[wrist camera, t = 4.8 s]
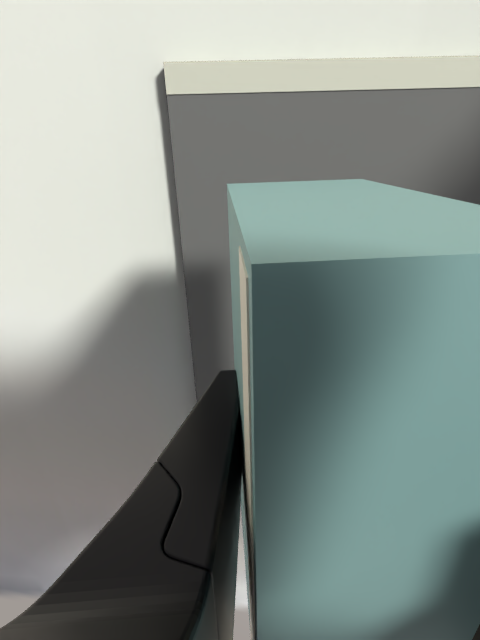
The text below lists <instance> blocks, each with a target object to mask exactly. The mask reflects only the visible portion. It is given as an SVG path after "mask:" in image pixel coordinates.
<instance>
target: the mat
mask: <svg viewBox="0 0 480 640" xmlns="http://www.w3.org/2000/svg"><path fill="white" fill-rule="evenodd" d="M163 64H164V74H165V84H166V94H167V103H168V113H169V123H170V134H171V144H172V154H173V164H174V174H175V184H176V194H177V204H178V215H179V225H180V235H181V245H182V255H183V265H184V275H185V285H186V296H187V306H188V316H189V326H190V336H191V346H192V356H193V366H194V377H195V387H196V397H197V402H198V401H199V400H200V398H201V397H202V395H203V394H204V393H205V391H206V390H207V388H208V387H209V385H210V384H211V383H212V381H213V380H214V378H215V377H216V375H217V374H218V373H219V371H221V370H235V367H234V343H233V319H232V295H231V271H230V247H229V223H228V199H227V184H235V183H263V182H290V181H318V180H346V179H365V180H369V181H374V182H378V183H383V184H387V185H392V186H396V187H401V188H405V189H410V190H414V191H419V192H423V193H428V194H433V195H437V196H442V197H446V198H451V199H455V200H460V201H464V202H469V203H473V204H478V205H480V56H435V57H386V58H337V59H288V60H239V61H190V62H163Z"/></svg>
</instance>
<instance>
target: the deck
mask: <svg viewBox="0 0 480 640" xmlns="http://www.w3.org/2000/svg"><path fill="white" fill-rule="evenodd" d="M227 199H228V223H229V247H230V271H231V295H232V319H233V343H234V367H235V370H236V373H237V382H238V391H239V401H240V425H241V452H242V485H241V511H242V525H243V539H244V553H245V567H246V581H247V595H248V609H249V622H250V637H251V640H472V639H473V637H474V635H475V633H476V630H477V628H478V626H479V624H480V205H478V204H473V203H469V202H464V201H460V200H455V199H451V198H446V197H442V196H437V195H433V194H428V193H423V192H419V191H414V190H410V189H405V188H401V187H396V186H392V185H387V184H383V183H378V182H374V181H369V180H365V179H346V180H318V181H290V182H263V183H235V184H227Z"/></svg>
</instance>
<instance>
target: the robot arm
mask: <svg viewBox="0 0 480 640" xmlns="http://www.w3.org/2000/svg"><path fill="white" fill-rule="evenodd" d="M241 485H242V452H241V425H240V401H239V391H238V382H237V373H236V370H221V371H219V373H218V374H217V375H216V377H215V378H214V380H213V381H212V383H211V384H210V385H209V387H208V388H207V390H206V391H205V393H204V394H203V395H202V397H201V398H200V400H199V401H198V402H197V404H196V405H195V407H194V408H193V410H192V411H191V412H190V414H189V415H188V417H187V418H186V419H185V421H184V422H183V424H182V425H181V427H180V428H179V429H178V431H177V432H176V434H175V435H174V437H173V438H172V439H171V441H170V442H169V444H168V445H167V446H166V448H165V449H164V451H163V452H162V454H161V455H160V456H159V458H158V459H157V462H155V463H154V465H153V466H152V467H151V469H150V470H149V472H148V473H147V475H146V476H145V477H144V479H143V480H142V481H141V483H140V484H139V485H138V487H137V488H136V489H135V491H134V492H133V493H132V495H131V496H130V497H129V498H128V499H127V501H126V502H125V503H124V504H123V505H122V506H121V508H120V509H119V510H118V511H117V512H116V514H115V515H114V516H113V517H112V518H111V519H110V521H109V522H108V523H107V524H106V525H105V526H104V527H103V528H102V530H101V531H100V532H99V533H98V534H97V535H96V536H95V537H94V539H93V540H92V541H91V542H90V543H89V544H88V545H87V546H86V548H85V549H84V550H83V551H82V552H81V553H80V554H79V555H78V557H77V558H76V559H75V560H74V561H73V562H72V563H71V564H70V566H69V567H68V568H67V569H66V570H65V571H64V572H63V573H62V575H61V576H60V577H59V578H58V579H57V580H56V581H55V582H54V584H53V585H52V586H51V587H50V588H49V589H48V590H47V591H46V592H45V593H44V594H43V595H42V596H41V597H40V598H39V599H38V600H37V601H36V602H35V603H34V604H32V605H31V606H30V607H29V608H28V609H27V610H25V611H24V612H23V613H22V614H21V615H19V616H18V617H17V618H15V619H14V620H13V621H11V622H10V623H8V624H7V625H5V626H3V627H2V628H0V640H233V627H234V610H235V592H236V574H237V556H238V539H239V521H240V503H241ZM472 640H480V624H479V626H478V628H477V630H476V633H475V635H474V637H473V639H472Z"/></svg>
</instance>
